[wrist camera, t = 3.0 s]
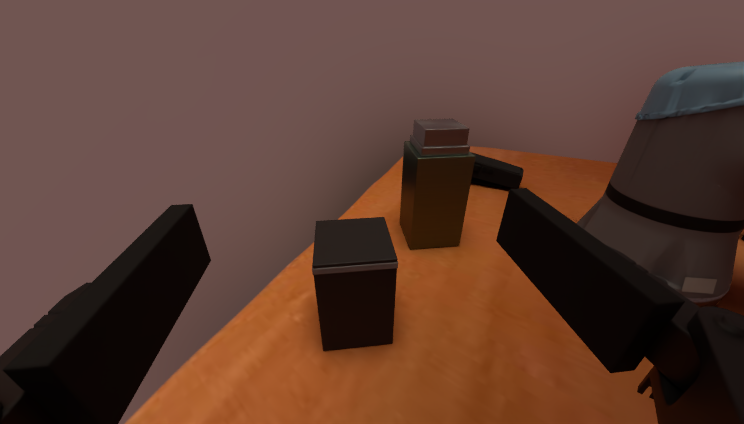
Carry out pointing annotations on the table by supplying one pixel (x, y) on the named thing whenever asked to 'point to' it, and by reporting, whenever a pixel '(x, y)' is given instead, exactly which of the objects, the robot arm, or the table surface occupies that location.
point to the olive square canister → (435, 183)
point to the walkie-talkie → (495, 173)
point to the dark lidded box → (354, 282)
